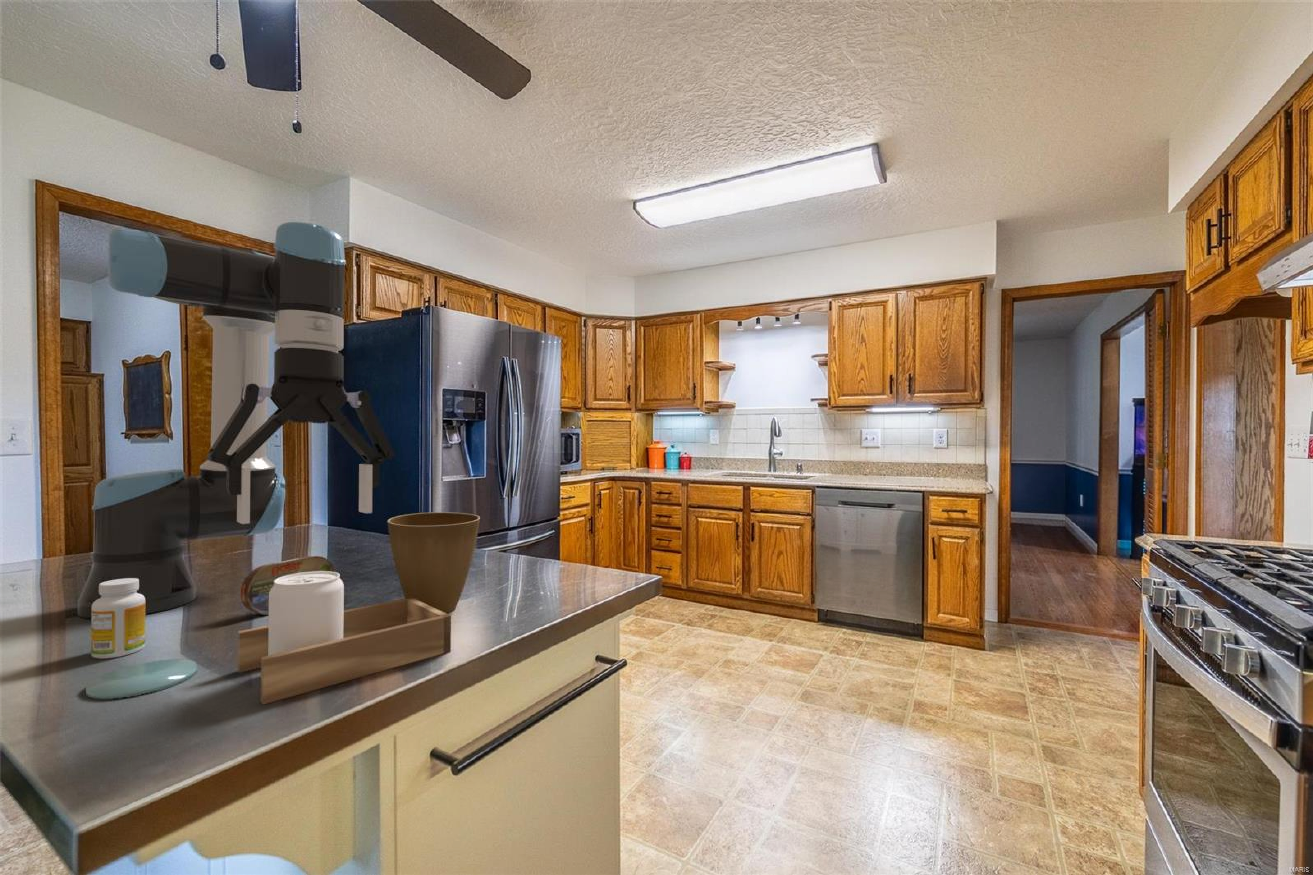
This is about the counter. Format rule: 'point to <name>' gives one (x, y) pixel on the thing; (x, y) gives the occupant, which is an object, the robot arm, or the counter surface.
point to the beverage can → (305, 610)
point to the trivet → (141, 679)
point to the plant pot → (433, 555)
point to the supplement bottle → (118, 619)
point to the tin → (264, 576)
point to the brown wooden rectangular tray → (349, 648)
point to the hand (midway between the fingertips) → (308, 517)
